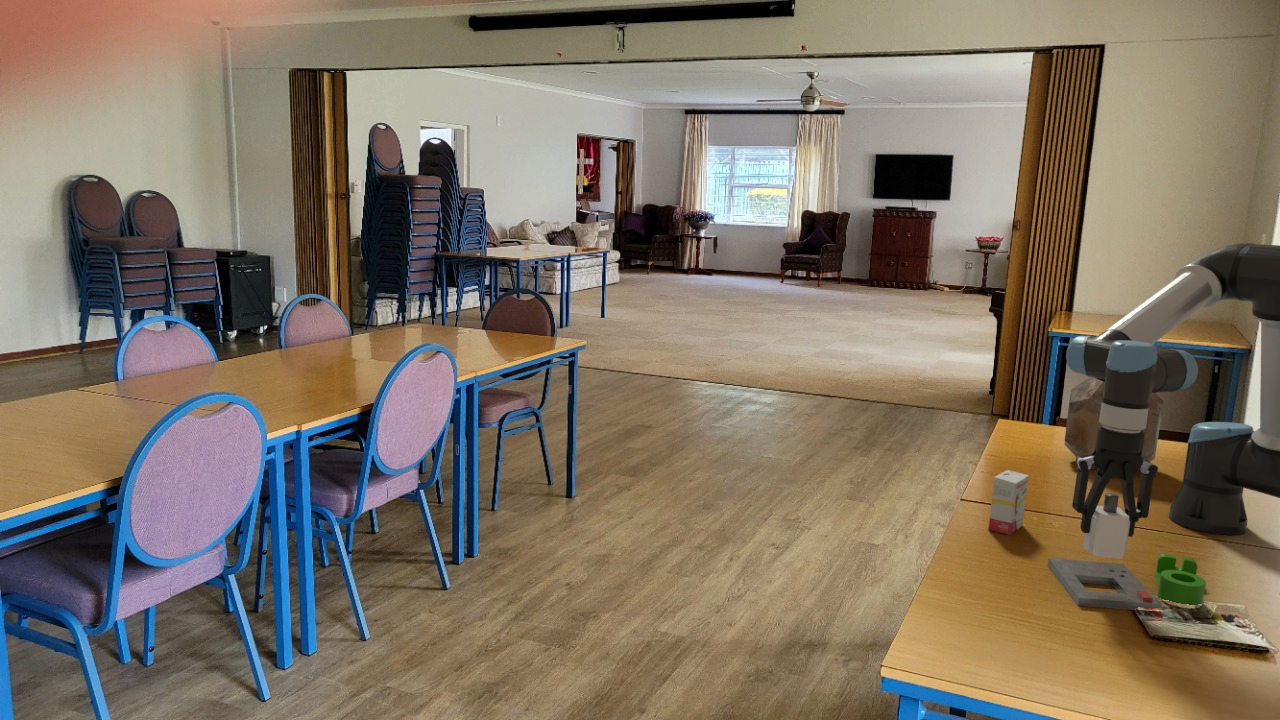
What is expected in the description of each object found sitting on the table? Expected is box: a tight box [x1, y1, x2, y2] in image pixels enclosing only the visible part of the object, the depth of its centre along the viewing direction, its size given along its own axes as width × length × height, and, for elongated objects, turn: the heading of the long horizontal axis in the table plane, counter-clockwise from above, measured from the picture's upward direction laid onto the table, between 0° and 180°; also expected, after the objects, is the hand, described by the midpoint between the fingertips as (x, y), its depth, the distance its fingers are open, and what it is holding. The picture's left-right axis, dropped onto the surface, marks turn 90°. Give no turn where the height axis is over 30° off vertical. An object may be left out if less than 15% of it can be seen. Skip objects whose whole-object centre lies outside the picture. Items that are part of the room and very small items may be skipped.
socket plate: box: [1047, 557, 1163, 611], centre depth 175 cm, size 14×18×2 cm
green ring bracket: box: [1155, 553, 1207, 605], centre depth 174 cm, size 15×7×5 cm, turn 155°
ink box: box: [987, 469, 1030, 536], centre depth 204 cm, size 9×5×12 cm, turn 139°
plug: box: [1089, 492, 1129, 560], centre depth 171 cm, size 5×5×11 cm
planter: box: [1064, 377, 1164, 471], centre depth 252 cm, size 22×24×24 cm
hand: (1103, 550), depth 172 cm, fingers closed on plug, 5 cm apart
